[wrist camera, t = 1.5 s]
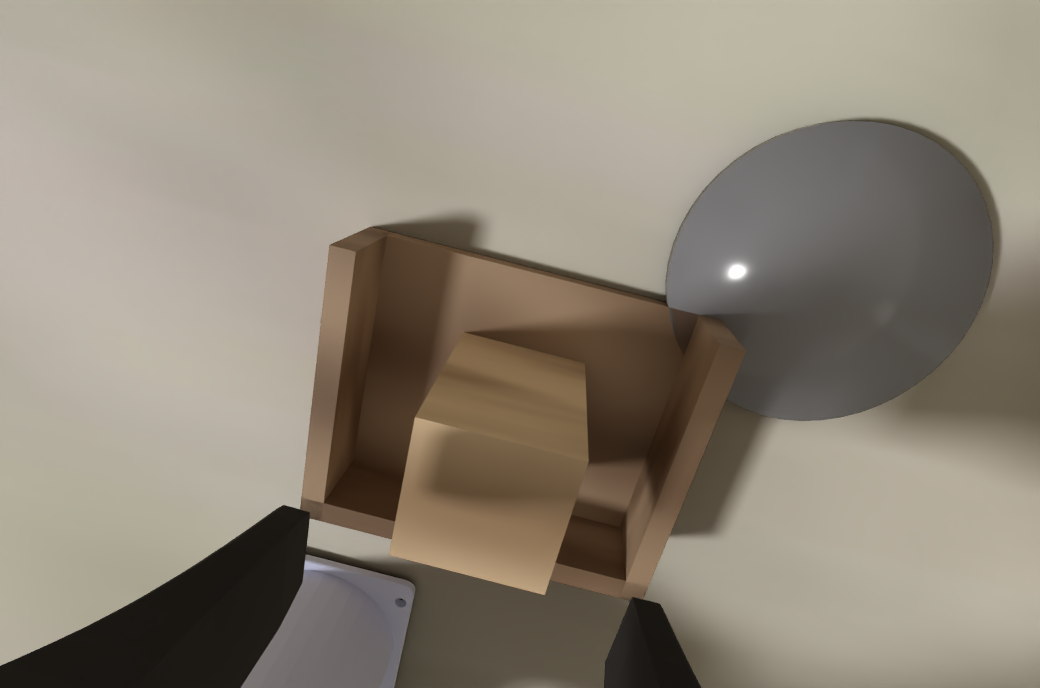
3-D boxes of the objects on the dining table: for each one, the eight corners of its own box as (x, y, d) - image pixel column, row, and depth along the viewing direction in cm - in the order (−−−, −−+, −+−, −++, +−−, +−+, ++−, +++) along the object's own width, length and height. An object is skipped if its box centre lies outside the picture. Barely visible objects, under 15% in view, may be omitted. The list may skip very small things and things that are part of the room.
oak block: (553, 466, 22) (544, 595, 16) (441, 437, 22) (388, 554, 16) (584, 363, 20) (588, 461, 14) (463, 332, 20) (414, 417, 14)
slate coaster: (891, 442, 21) (900, 450, 20) (628, 374, 21) (630, 381, 20) (1044, 166, 17) (1060, 167, 17) (726, 85, 17) (731, 84, 17)
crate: (632, 537, 23) (641, 603, 20) (338, 462, 23) (299, 515, 20) (717, 315, 20) (746, 351, 16) (370, 226, 20) (329, 245, 16)
